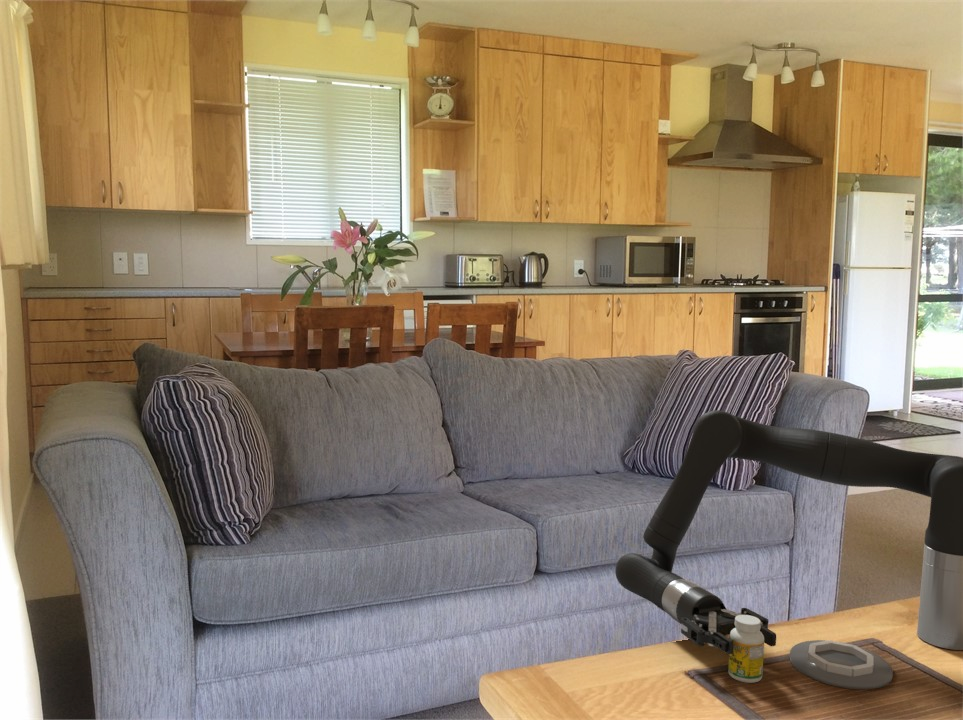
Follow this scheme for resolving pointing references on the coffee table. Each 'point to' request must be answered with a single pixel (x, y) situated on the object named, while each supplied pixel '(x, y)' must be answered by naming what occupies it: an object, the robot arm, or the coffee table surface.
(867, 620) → the coffee table surface
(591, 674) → the coffee table surface
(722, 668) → the coffee table surface
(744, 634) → the supplement bottle
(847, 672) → the ringed coaster
